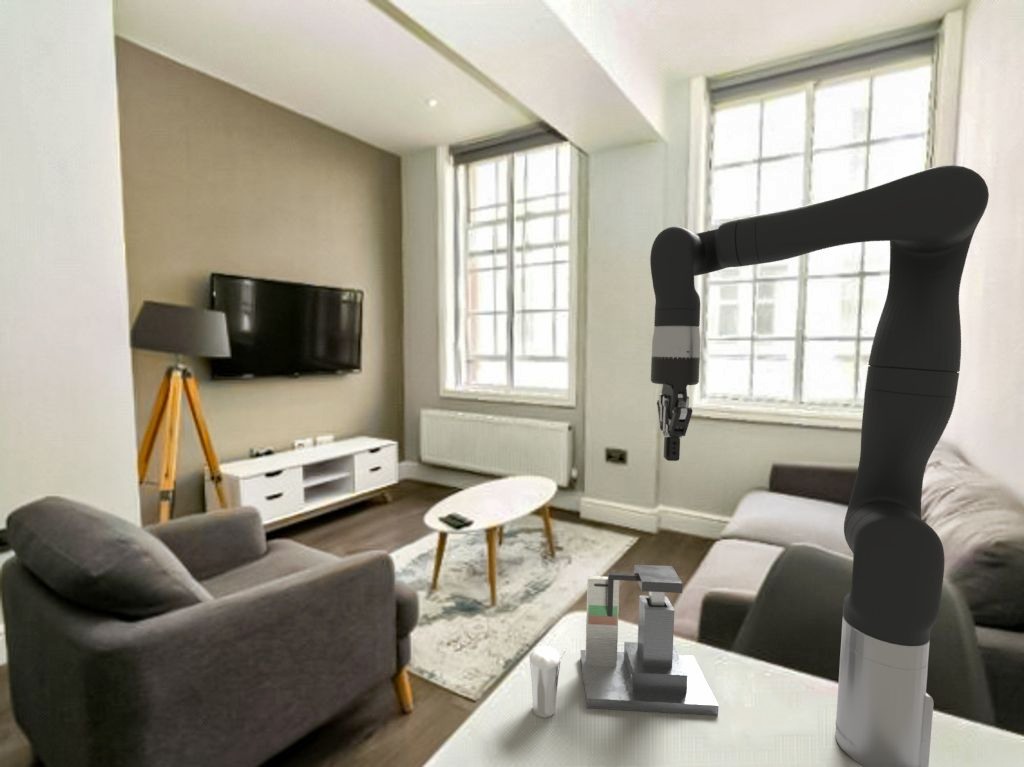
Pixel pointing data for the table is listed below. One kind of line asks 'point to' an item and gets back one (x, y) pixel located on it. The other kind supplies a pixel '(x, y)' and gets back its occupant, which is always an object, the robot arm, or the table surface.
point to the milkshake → (544, 679)
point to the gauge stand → (639, 661)
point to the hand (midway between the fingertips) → (671, 459)
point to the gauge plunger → (647, 583)
